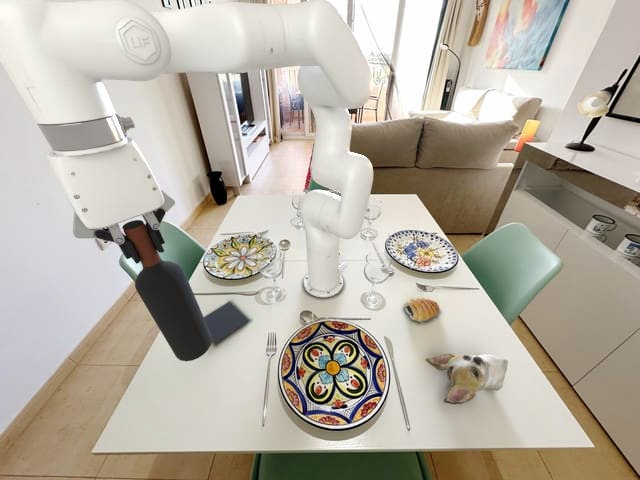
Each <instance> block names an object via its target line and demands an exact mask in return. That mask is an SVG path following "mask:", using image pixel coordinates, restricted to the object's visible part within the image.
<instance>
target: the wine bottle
mask: <svg viewBox="0 0 640 480" xmlns="http://www.w3.org/2000/svg"><path fill="white" fill-rule="evenodd" d="M144 222H145V221H143V219H135V220H130V221H128V222H126V223H124V224H123V225H122V230H123V234H124V235H126V237H127V238H128V239H129V240H130V242H131V243H132V245H133V247H134V249H135V251H136V253H137V254H138V256H139V258H140V260H141V261H140V264H141V266H142V269H141V270H140V271H139V273H138V274H137V275H136V279H135V282H134V287H135V290H136V292H137V294H138V295H139V297H140V299H141V300H142V303H143V304H144V306H145V307H146V309H147V311H148V312H149V314H150V315H151V317H152V319H153V320H154V322H155V324H156V326H157V328H158V329H159V331H160V333H161V335H162V336H163V337H164V339H165V340H166V343H167V344H168V346H169V348H170V349H171V351H172V352H173V354H174V356H175V358H176V359H178V360H179V361H182V362H192V361H195V360H198V359H199V358H201V357H202V356H204V355H205V354H206V353H207V352H208V351H209V349H210V348H211V346H212V343H213V340H212V335H211V333H210V331H209V328H208V326H207V324H206V321H205V319H204V317H205V316H204V315H203V312H202V310H201V308H200V305H199V302H198V300H197V298H196V296H195V293H194V291H193V289H192V286H191V284H190V281H189V280H188V279H189V278H188V277H187V275H186V272H185V271H184V269H183V268H182V267H181V265H180V264H178V263H175V262H173V261H171V260H163V259H162V258H161V256H160V254H159V252H158V251H157V250H156V247H155V245H154V243H153V241H152V239H151V237H150V235H149V233H148V230H147V227H146V225H145V224H146V223H144Z"/></svg>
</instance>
